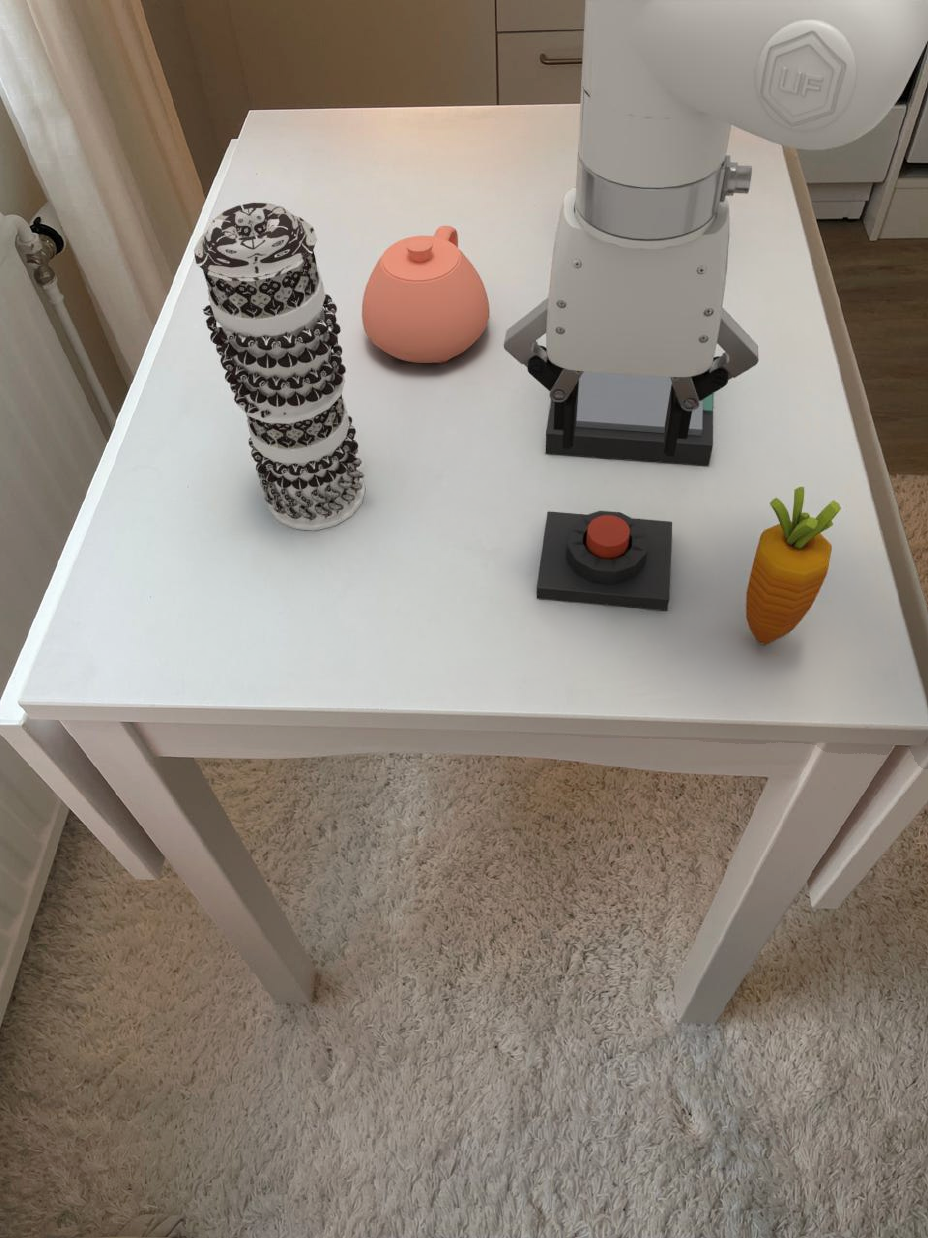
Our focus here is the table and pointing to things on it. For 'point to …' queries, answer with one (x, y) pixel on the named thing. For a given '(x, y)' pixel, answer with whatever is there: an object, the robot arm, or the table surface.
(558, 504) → the table surface
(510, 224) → the table surface
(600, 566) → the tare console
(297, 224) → the patterned cylindrical tower
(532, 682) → the table surface
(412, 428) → the table surface
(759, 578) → the carrot
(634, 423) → the scale
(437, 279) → the sugar bowl
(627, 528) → the button
